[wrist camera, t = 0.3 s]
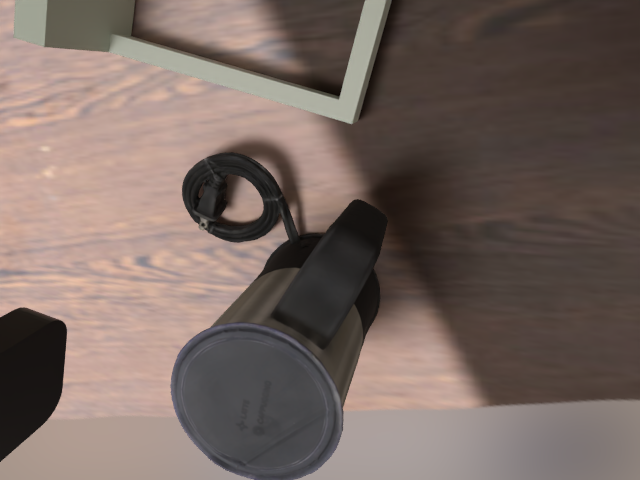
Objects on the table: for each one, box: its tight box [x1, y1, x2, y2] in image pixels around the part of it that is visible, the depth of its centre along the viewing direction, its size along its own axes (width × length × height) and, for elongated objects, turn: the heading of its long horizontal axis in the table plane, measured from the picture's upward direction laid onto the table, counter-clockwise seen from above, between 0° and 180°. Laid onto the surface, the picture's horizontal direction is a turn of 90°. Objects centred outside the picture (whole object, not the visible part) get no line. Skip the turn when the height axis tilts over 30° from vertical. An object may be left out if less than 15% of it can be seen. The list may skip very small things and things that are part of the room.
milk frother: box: [171, 153, 388, 480], centre depth 32 cm, size 14×16×15 cm
